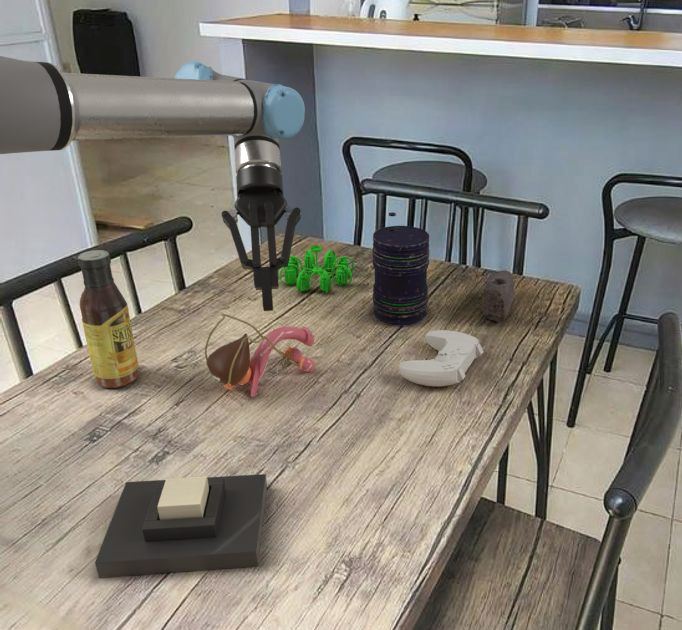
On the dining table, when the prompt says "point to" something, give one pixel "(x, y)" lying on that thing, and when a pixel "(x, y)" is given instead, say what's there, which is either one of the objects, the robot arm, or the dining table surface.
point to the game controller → (443, 359)
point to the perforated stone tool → (498, 296)
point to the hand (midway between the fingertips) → (268, 308)
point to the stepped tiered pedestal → (185, 530)
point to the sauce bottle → (106, 323)
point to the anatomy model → (255, 356)
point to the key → (183, 498)
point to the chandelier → (317, 270)
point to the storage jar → (400, 274)
